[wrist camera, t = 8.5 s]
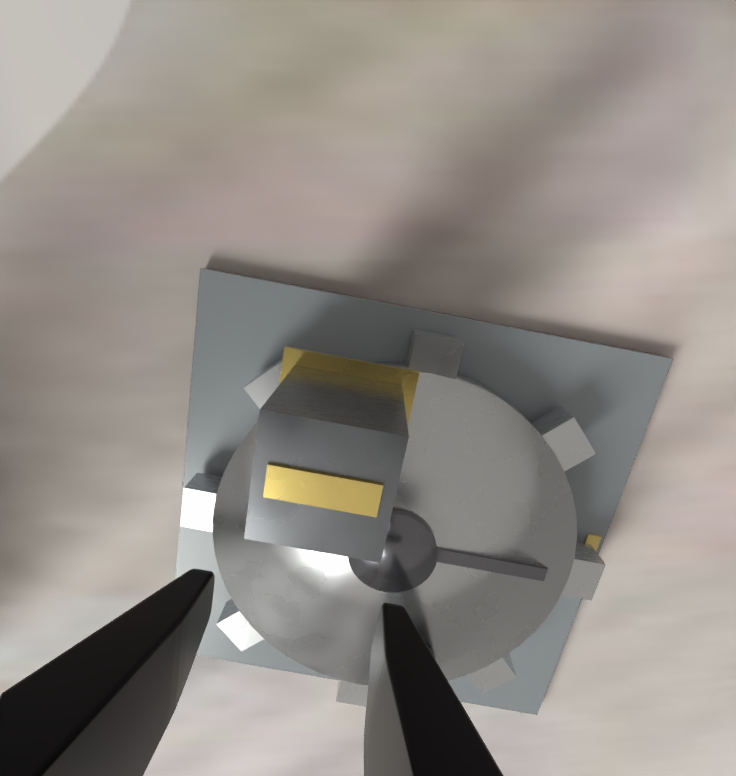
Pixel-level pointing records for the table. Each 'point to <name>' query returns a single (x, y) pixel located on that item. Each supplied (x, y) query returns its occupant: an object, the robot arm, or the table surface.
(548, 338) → the base plate
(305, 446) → the link block
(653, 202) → the table surface
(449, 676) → the sprocket
